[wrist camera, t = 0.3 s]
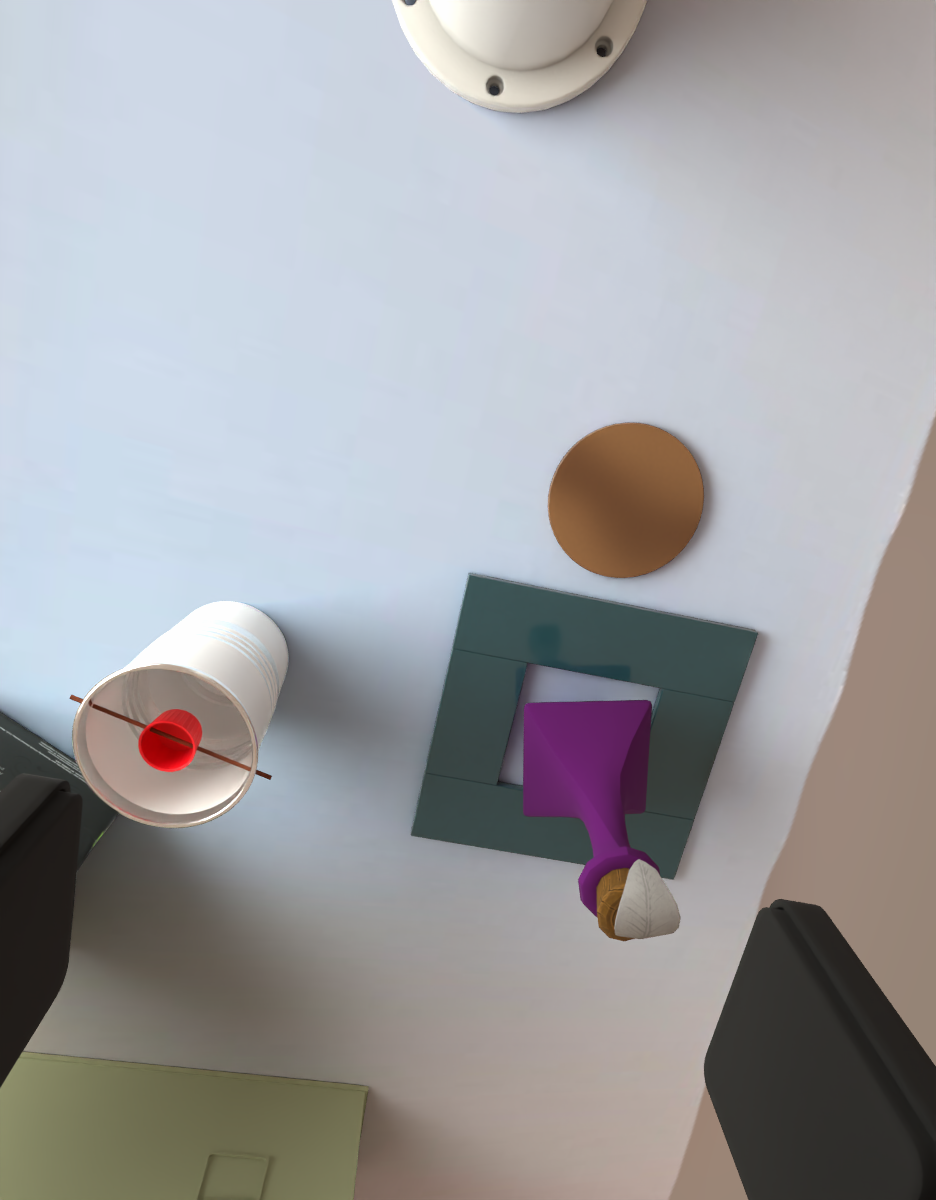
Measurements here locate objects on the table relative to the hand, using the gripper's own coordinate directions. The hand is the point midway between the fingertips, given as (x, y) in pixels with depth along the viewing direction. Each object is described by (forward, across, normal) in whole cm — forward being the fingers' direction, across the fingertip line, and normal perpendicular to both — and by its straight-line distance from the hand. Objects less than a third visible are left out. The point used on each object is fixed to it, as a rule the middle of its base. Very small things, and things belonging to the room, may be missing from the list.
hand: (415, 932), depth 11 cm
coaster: (+36, -11, -2) cm, 38 cm away
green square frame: (+36, -12, +13) cm, 40 cm away
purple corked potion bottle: (+37, -12, +13) cm, 40 cm away
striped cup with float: (+37, +10, +12) cm, 40 cm away
